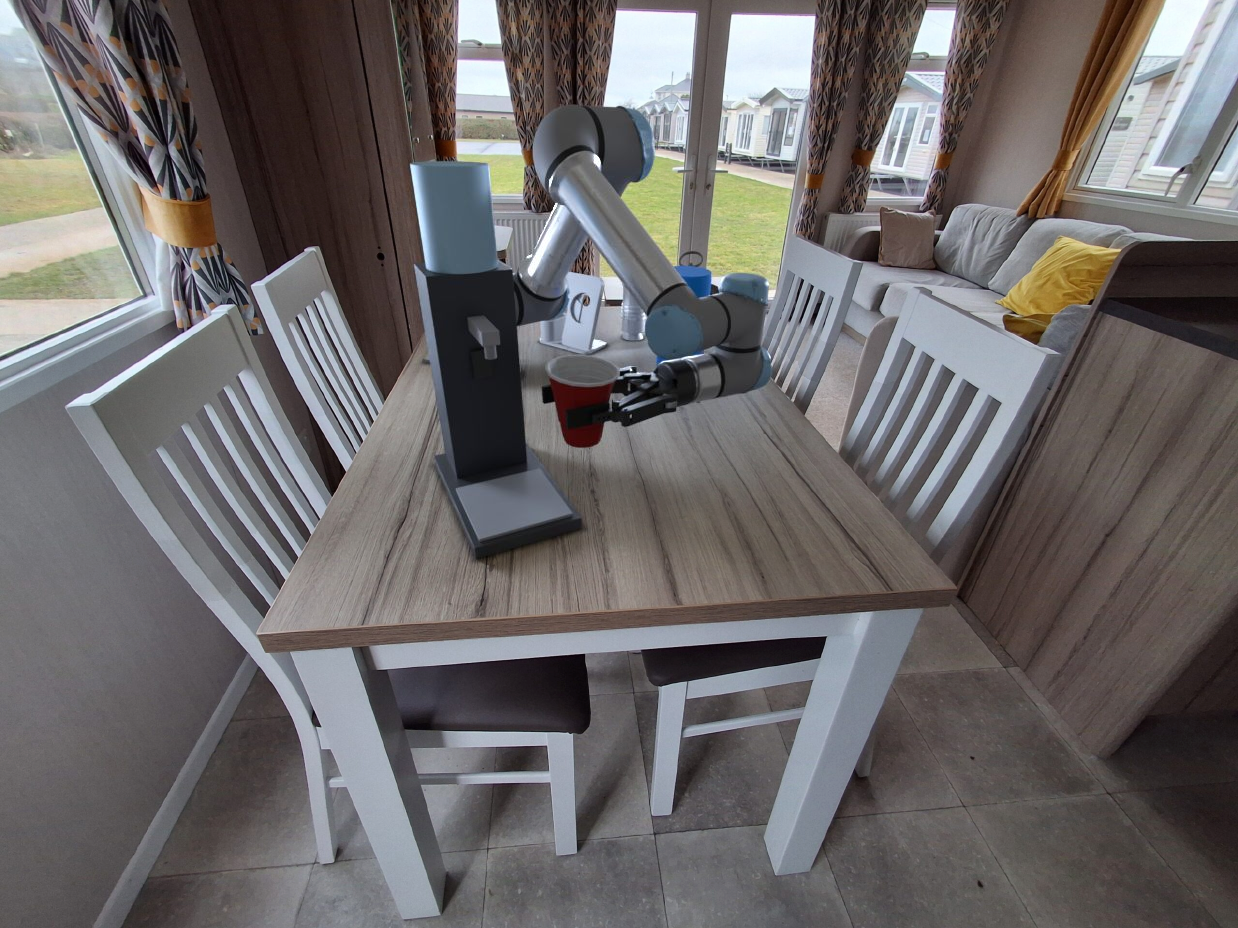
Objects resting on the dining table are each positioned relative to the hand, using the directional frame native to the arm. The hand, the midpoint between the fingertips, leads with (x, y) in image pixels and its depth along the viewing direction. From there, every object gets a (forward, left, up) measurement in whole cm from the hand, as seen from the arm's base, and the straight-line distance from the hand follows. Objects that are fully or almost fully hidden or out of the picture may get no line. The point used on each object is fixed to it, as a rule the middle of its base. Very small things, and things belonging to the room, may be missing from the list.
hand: (554, 406), depth 81 cm
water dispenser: (-8, -5, -17) cm, 19 cm away
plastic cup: (+2, +4, -7) cm, 8 cm away
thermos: (-17, +54, -17) cm, 59 cm away
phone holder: (-53, +53, -17) cm, 77 cm away
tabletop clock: (-30, +73, -17) cm, 81 cm away
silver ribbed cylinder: (-45, +69, -17) cm, 84 cm away
